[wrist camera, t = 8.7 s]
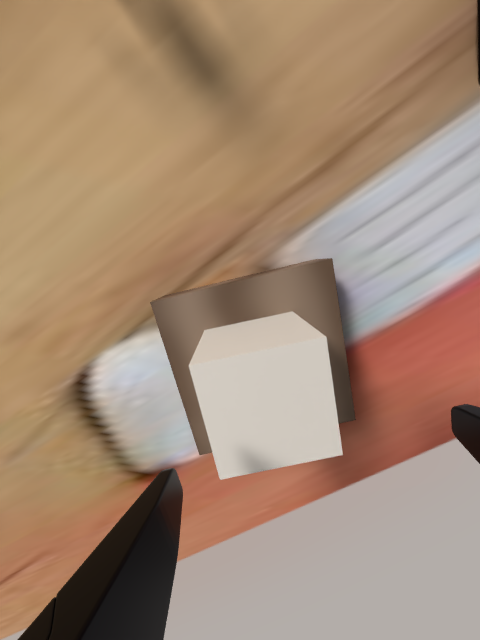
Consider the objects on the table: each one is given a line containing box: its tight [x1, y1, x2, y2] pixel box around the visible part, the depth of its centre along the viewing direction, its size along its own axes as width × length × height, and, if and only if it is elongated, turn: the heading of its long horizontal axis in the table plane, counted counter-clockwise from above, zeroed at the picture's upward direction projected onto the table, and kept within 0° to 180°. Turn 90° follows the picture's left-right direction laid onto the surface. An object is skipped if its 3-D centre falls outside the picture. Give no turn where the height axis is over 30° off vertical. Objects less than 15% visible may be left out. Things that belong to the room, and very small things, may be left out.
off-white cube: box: [189, 311, 343, 480], centre depth 14 cm, size 6×6×6 cm
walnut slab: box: [150, 258, 356, 455], centre depth 19 cm, size 12×12×4 cm
